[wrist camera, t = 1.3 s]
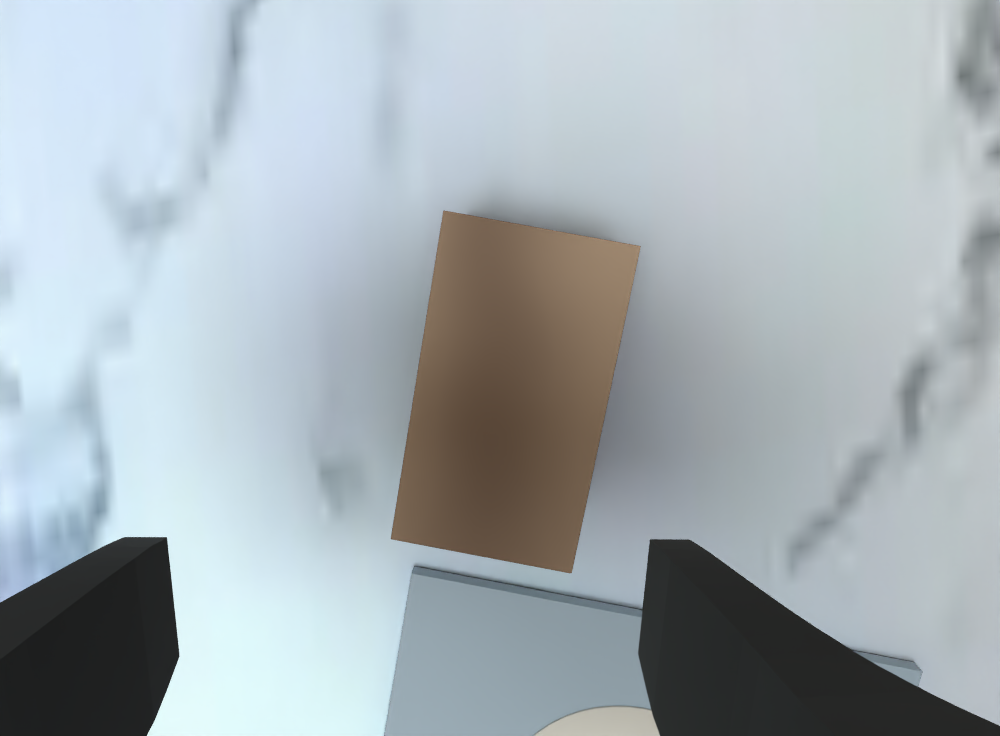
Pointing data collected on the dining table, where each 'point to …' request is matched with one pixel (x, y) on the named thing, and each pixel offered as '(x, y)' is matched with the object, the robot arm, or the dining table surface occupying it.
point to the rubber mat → (523, 663)
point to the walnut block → (512, 390)
